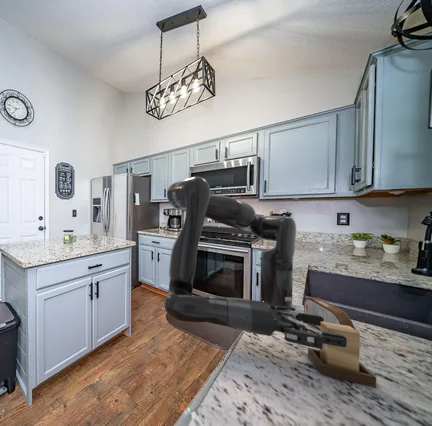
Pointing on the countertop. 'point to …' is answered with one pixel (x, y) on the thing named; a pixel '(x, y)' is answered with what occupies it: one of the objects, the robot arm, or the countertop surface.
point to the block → (341, 348)
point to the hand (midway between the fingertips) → (333, 330)
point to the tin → (326, 312)
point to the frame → (342, 370)
